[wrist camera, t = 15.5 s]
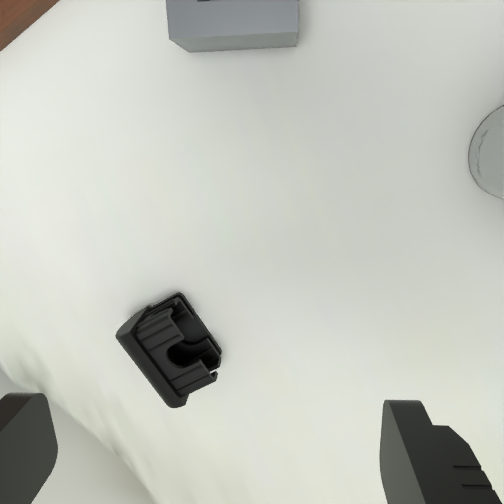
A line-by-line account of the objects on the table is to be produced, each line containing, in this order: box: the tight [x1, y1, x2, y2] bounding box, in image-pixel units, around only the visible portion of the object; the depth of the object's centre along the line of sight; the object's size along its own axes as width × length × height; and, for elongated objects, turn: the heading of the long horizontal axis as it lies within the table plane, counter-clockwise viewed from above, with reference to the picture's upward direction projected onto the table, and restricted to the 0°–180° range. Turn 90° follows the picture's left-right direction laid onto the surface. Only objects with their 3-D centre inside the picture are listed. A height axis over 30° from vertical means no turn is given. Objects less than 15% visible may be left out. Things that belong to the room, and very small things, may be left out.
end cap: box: [116, 293, 221, 408], centre depth 45 cm, size 10×7×7 cm
